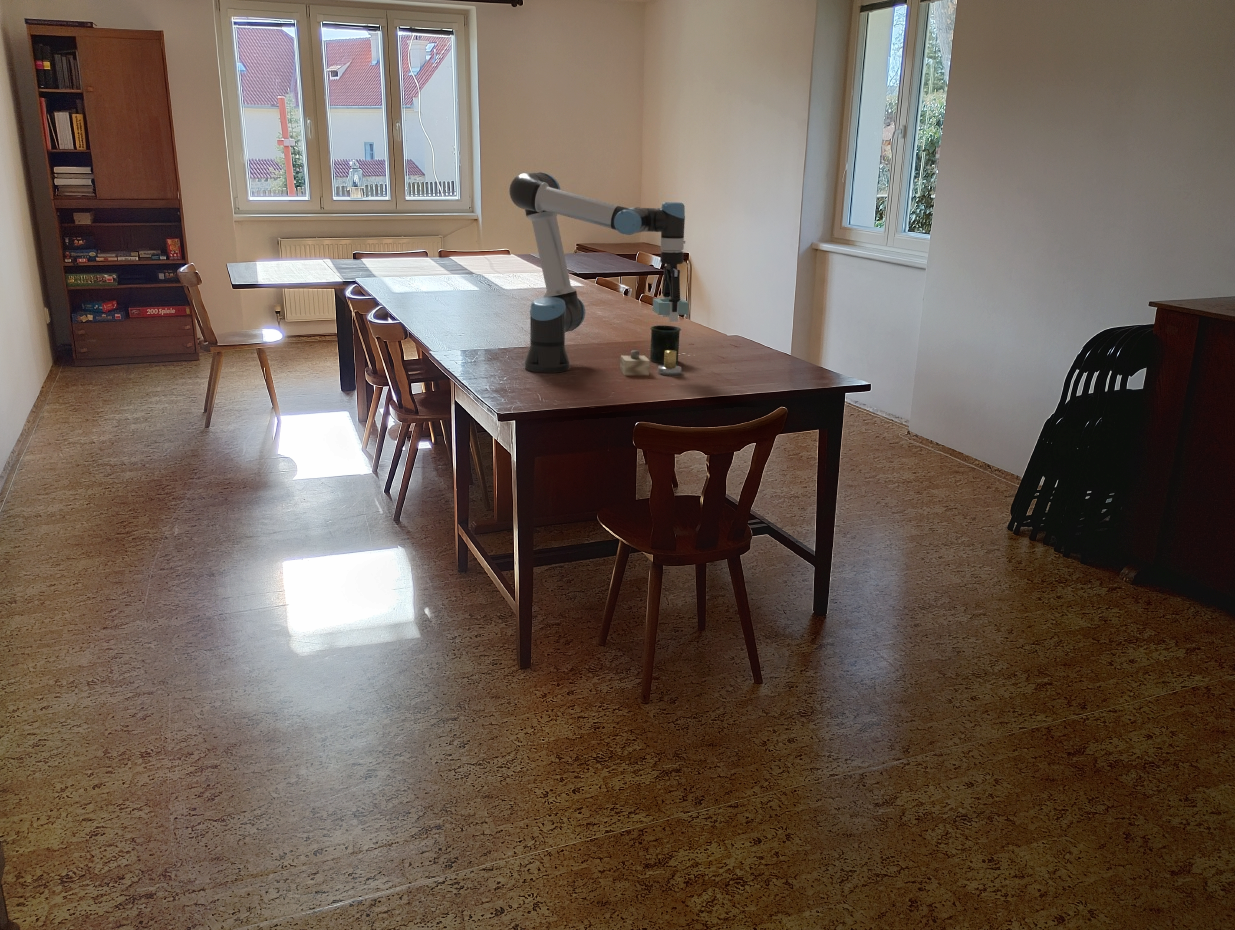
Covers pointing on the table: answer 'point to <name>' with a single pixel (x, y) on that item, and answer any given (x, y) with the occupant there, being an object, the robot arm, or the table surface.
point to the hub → (669, 364)
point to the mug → (663, 342)
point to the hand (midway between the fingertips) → (670, 319)
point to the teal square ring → (663, 306)
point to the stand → (634, 364)
